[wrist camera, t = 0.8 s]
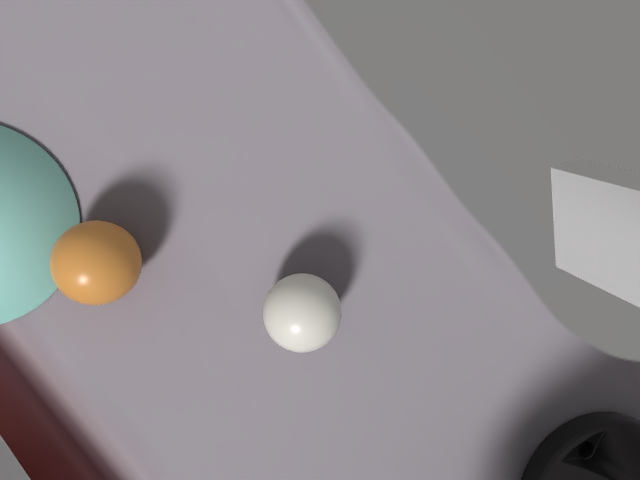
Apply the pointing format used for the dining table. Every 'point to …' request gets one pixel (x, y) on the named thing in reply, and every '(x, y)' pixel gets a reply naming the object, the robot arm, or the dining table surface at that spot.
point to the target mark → (29, 222)
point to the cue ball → (302, 312)
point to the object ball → (95, 262)
